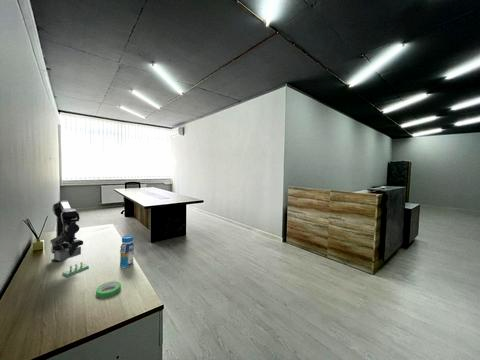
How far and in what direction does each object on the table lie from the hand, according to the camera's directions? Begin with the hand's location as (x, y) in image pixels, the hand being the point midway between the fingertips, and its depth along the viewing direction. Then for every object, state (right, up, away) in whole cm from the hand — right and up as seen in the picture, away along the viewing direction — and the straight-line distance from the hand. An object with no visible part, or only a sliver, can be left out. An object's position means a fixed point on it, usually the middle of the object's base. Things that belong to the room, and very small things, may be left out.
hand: (68, 255), depth 122 cm
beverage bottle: (+29, -13, +13) cm, 34 cm away
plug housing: (0, -1, 0) cm, 1 cm away
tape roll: (+36, -14, -16) cm, 42 cm away
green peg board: (+3, -11, +3) cm, 12 cm away
